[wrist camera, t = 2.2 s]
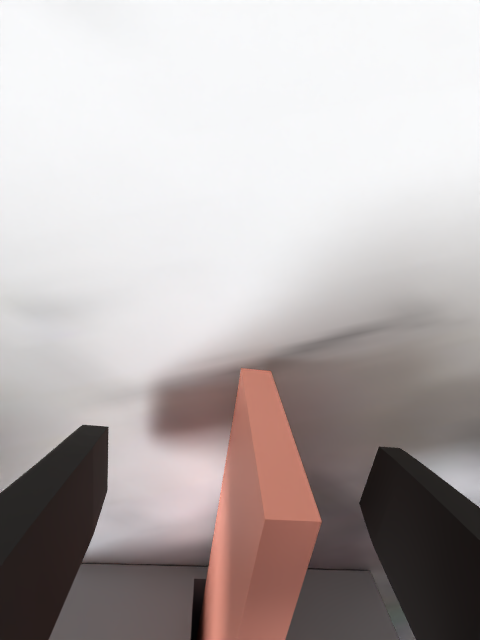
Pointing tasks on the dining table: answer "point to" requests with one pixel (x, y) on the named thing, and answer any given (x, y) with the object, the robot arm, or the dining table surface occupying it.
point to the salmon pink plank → (259, 522)
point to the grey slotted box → (187, 596)
